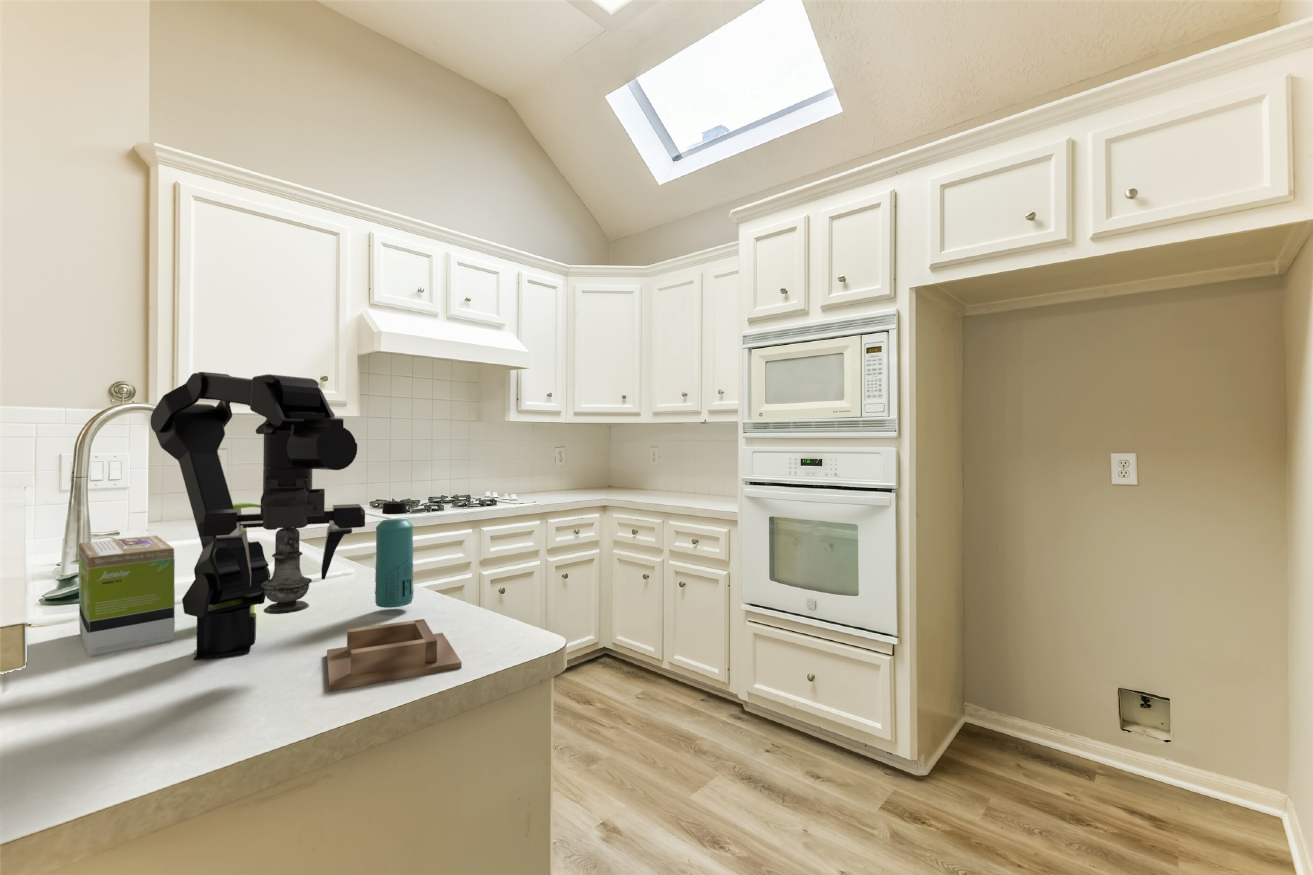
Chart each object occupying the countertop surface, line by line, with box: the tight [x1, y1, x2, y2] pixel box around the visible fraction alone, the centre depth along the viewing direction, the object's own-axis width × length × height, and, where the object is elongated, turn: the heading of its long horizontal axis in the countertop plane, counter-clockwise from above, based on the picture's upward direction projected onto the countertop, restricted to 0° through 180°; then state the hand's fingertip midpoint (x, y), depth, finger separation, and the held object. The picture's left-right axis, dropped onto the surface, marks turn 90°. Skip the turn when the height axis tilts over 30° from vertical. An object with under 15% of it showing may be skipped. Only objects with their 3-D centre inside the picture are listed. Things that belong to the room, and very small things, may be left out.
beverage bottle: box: [374, 500, 415, 609], centre depth 108 cm, size 6×7×20 cm
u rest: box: [326, 618, 463, 692], centre depth 84 cm, size 16×14×4 cm
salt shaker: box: [261, 527, 313, 615], centre depth 81 cm, size 6×6×12 cm
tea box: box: [78, 535, 176, 658], centre depth 92 cm, size 15×10×15 cm, turn 48°
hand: (286, 582), depth 81 cm, fingers closed on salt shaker, 8 cm apart
